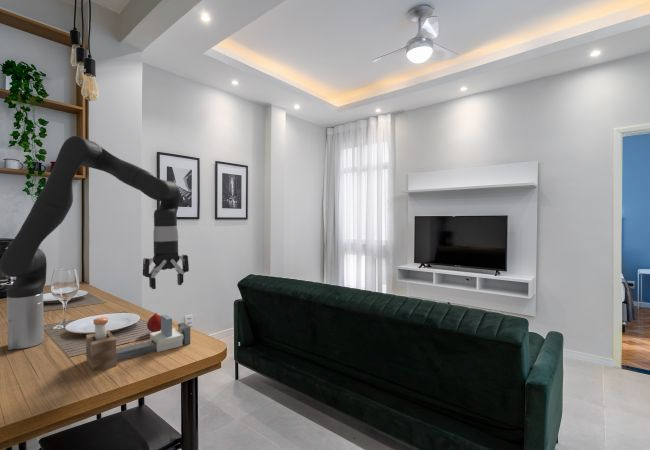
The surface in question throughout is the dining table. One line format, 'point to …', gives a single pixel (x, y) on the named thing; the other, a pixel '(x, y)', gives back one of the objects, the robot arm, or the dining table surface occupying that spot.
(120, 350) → the rail
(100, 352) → the wooden block holder
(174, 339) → the carriage
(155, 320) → the onion
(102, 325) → the white orange cylinder
